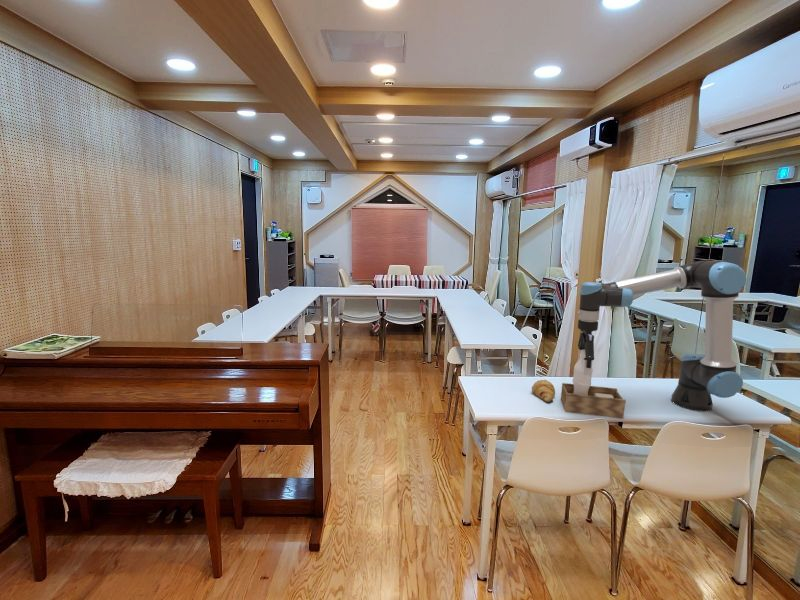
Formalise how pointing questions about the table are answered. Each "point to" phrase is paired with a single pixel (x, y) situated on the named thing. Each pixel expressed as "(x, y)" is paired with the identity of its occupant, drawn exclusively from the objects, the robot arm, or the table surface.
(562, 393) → the crate
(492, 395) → the table surface
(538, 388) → the croissant
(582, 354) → the water bottle
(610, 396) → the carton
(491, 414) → the table surface
